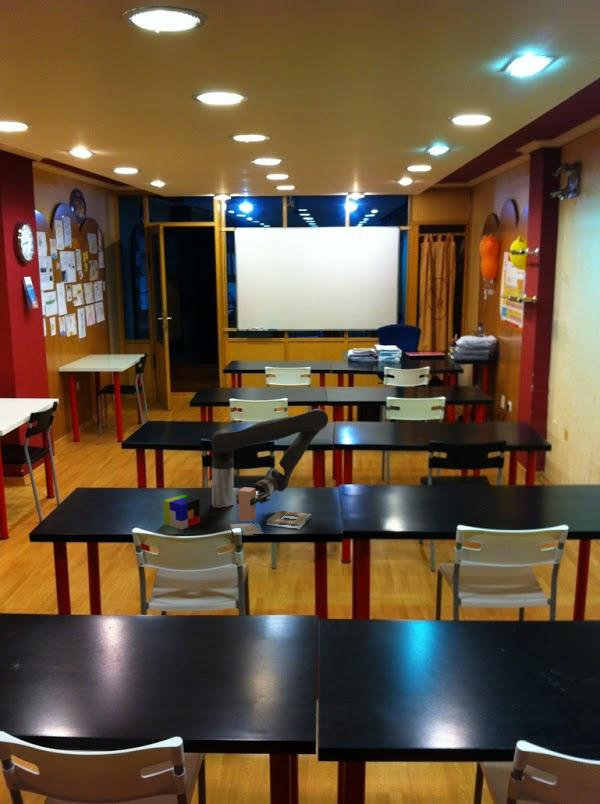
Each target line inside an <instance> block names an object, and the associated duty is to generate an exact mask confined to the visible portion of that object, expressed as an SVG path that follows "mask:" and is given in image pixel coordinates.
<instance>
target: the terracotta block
mask: <svg viewBox="0 0 600 804" xmlns="http://www.w3.org/2000/svg"><path fill="white" fill-rule="evenodd" d="M237 493H238V497H239V504H238V521H241V522H242V521H243V522H253V521H254V520H255V519H256V518H257V511H256V508H257V505H256V504H254V505H252V506H251V505H250V500H251V499H253V498H255V488H251V487H247V486H246V487H245V486H244V487H241V488H240V489H239V490H238V492H237Z"/></svg>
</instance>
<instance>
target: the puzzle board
mask: <svg viewBox="0 0 600 804" xmlns="http://www.w3.org/2000/svg"><path fill="white" fill-rule="evenodd" d="M284 515H285V516H295V517H298V518H297V519H296V520H292V519H281V518H282V517H283V516H284ZM310 515H311V516H312V513H303V512H295V511H288V510H281V509H280V510H278V511H277V512H276V513H275V514H273V515H272V516H271V517H269V518H268V519H267V520H266V524H267V523H269V524H279V525H289V526H290V525H291V526H300V525H301V524H302V523H303V522H304V521H305V520H306V519H307V518H308V517H309V516H310Z"/></svg>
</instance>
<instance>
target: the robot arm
mask: <svg viewBox="0 0 600 804" xmlns="http://www.w3.org/2000/svg"><path fill="white" fill-rule="evenodd" d="M328 423H329V416H328V413H327V412H326V411H324V410H323V409H321V408H315V409H312V410H309V411H306V412H304V413H300V414H297V415H294V416H293V415H292V416H286V417H285V416H284V417H277V418H272V419H268V420H262V421H260V422H256V423H255V424H252V425H250V426H248V427H247V426H246V427H245V428H243V429H240V430H235V431H230V430H228V429H218V430H216V431H215V432H214V433H213V435H212V438H211V442H210V444H211V448H212V450H211V451H212V455H211V458H212V459H211V473H212V474H211V478H212V479H211V480H212V481H211V487H212V488H211V493H212V494H211V499H212V500H211V503H212V508H219V509H220V508H222V507H227V508H229V507H228V506H231V505H233V504H234V502H235V498H234V493H235V492H234V487H235V486H234V485H235V483H234V482H235V481H234V457H235V455H234V450H238V449H240V448H243V447H248V446H255V445H259V444H264V443H269V442H270V443H271V442H275V441H278V440H281V439H284V438H287V437H290V436H293V435H295V434H298V435H297V436H296V438H295V439H294V441H293V442H291V444H290V445H289V447H288V448H287V449H286V451H285V452H284V454H283V455H282V456H281V458H280V460H279V462H278V464H279V466H280V467H281V468H282V469H283V470H284V474H283V473H281V472H280V471H279V470H277V469H275V468H272V469H269V470H267V472H266V473H265V475H264V478H262V479H260V480H259V481H257V482H255V483H254V484H253V485H251V486H250V488H255V498H253V499H251V500H250V505H251V506H252V505H254V504H264V503H266V502H269V501H271V495H272V494H274V492H276V491H277V492H279V493H280V492H284V491H285V490H286V489H287V487H288V485H289V482H290V479H291V476H292V474H293V472H294V470H295V468H296V466H297V465H298V463H299V462H300V461H301V459H302V458H303V456H304V454H305V452H306V451H307V449H308V447H309V445H310V444H311V442H312V441H313V440H314V438H315V437H316V436H317V435H318V434H319V433H320V431H322V430H323V429H325V428H326V426H327V425H328ZM236 504H237V505H239V497H238V492H237V493H236ZM234 505H235V504H234ZM234 505H233V506H234ZM231 507H232V506H231ZM222 509H223V508H222Z"/></svg>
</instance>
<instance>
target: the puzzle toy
mask: <svg viewBox="0 0 600 804" xmlns="http://www.w3.org/2000/svg"><path fill="white" fill-rule="evenodd" d="M200 506H201V505H200V499H199V498H197V497H192V496H188V495H184V494H181V495H177V496H174V497H171V498H167V499H164V500H163V519H164V520H163V521H164V523H163V524H164V525H166V526H169V527H173V528H176V529H179V530H185V529H187V528H190V527H193V526H195V525H197V524H200V523H201V522H200V521H201V518H200V517H201V516H200V514H201V513H200V511H201V510H200Z"/></svg>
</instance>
